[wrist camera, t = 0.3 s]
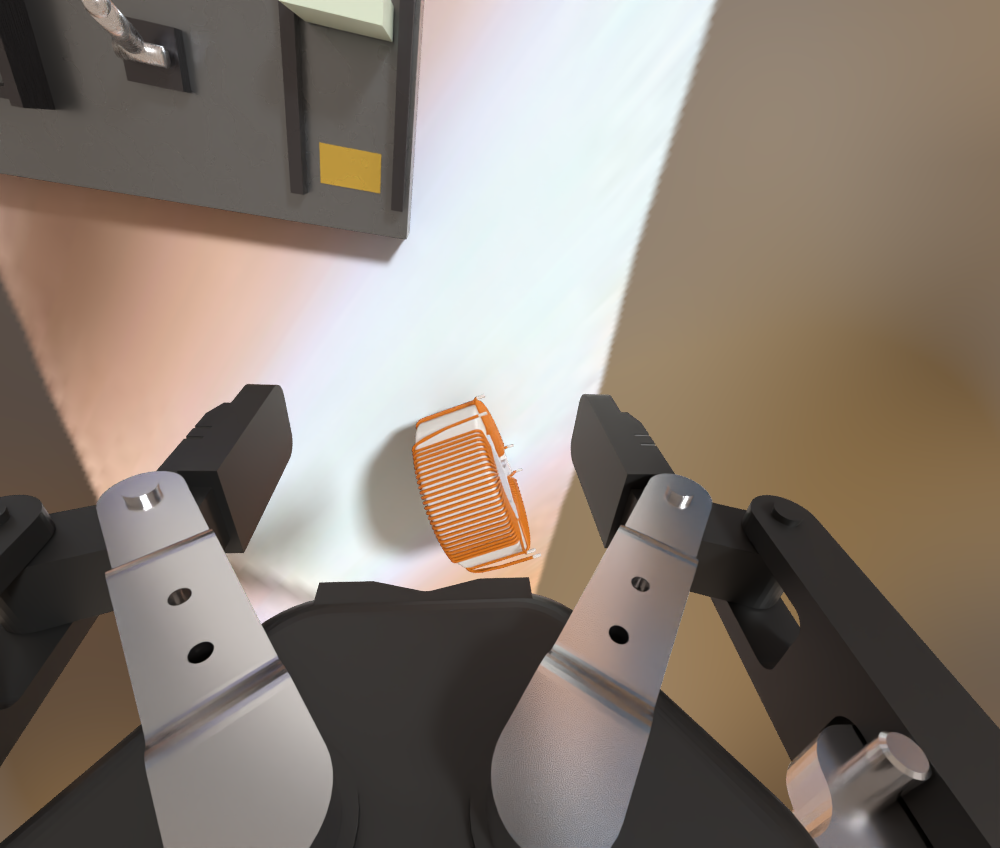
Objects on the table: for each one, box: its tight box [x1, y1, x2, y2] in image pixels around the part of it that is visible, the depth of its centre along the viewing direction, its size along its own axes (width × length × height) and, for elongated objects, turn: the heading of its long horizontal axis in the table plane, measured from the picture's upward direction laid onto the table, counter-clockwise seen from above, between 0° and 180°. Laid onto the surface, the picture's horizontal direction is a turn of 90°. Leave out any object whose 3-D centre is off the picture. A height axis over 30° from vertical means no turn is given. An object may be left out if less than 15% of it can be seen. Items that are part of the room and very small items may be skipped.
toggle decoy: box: [81, 0, 171, 68], centre depth 23 cm, size 1×2×5 cm, turn 80°
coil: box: [412, 394, 541, 573], centre depth 41 cm, size 7×15×15 cm, turn 19°
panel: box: [0, 0, 424, 239], centre depth 27 cm, size 16×30×6 cm, turn 80°
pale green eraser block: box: [279, 0, 394, 42], centre depth 24 cm, size 2×5×5 cm, turn 80°
